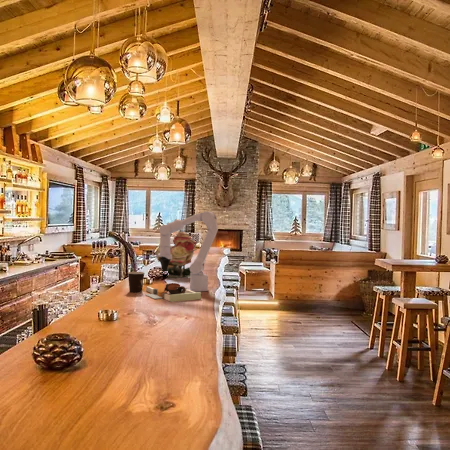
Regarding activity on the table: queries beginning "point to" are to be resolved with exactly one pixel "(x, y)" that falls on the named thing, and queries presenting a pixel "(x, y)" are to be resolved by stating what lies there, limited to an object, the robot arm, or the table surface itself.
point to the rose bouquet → (180, 255)
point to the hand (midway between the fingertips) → (164, 270)
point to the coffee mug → (135, 281)
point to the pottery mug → (174, 289)
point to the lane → (174, 295)
